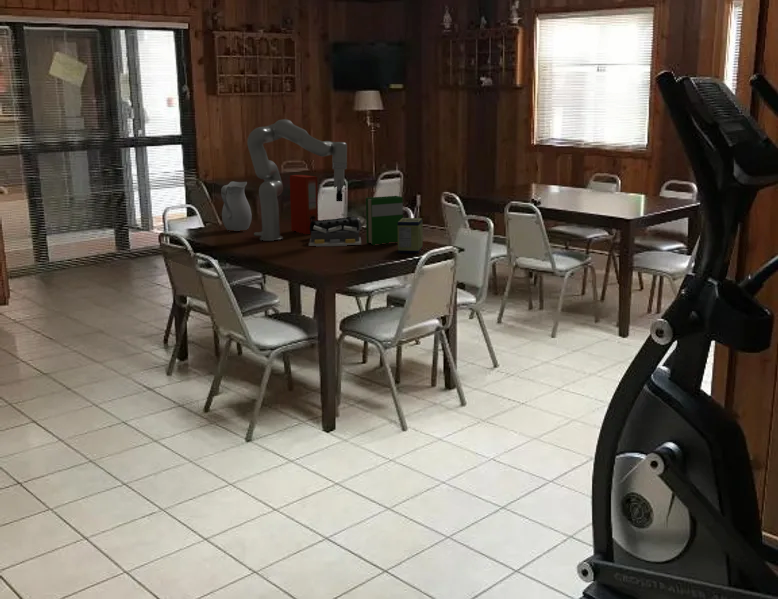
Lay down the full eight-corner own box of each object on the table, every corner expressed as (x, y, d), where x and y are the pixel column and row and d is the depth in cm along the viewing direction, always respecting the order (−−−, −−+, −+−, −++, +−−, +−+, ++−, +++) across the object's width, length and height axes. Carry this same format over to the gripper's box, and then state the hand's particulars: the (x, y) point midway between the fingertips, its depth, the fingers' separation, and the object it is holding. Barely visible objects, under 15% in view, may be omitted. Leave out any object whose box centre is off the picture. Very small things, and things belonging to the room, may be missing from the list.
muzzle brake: (309, 238, 463) (308, 219, 461) (353, 233, 478) (352, 215, 476) (318, 240, 455) (317, 221, 453) (362, 235, 470) (361, 216, 468)
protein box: (422, 248, 427) (422, 217, 423) (418, 254, 412) (418, 222, 408) (402, 248, 429) (402, 217, 425) (397, 253, 414) (397, 222, 410)
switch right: (343, 229, 443) (343, 226, 443) (343, 227, 448) (344, 225, 448) (356, 231, 443) (356, 228, 443) (356, 229, 449) (356, 227, 449)
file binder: (303, 229, 492) (301, 174, 484) (318, 233, 478) (317, 176, 470) (291, 231, 487) (289, 175, 480) (306, 235, 473) (304, 177, 466)
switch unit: (308, 246, 436) (308, 234, 435) (310, 240, 455) (310, 228, 454) (361, 245, 437) (360, 233, 436) (360, 239, 456) (360, 227, 455)
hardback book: (372, 245, 436) (371, 199, 431) (366, 243, 443) (365, 197, 437) (403, 242, 444) (402, 197, 438) (396, 240, 450) (396, 195, 445)
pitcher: (232, 228, 502) (229, 180, 496) (257, 229, 497) (255, 181, 490) (211, 234, 481) (207, 184, 474) (237, 235, 475) (234, 185, 468)
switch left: (313, 228, 442) (313, 226, 442) (313, 227, 448) (314, 224, 447) (325, 233, 443) (326, 230, 443) (325, 231, 448) (326, 229, 448)
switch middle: (328, 232, 443) (328, 229, 443) (329, 230, 448) (328, 228, 448) (341, 229, 443) (340, 226, 442) (341, 227, 448) (340, 224, 448)
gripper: (332, 164, 449) (332, 199, 454) (331, 167, 435) (331, 202, 439) (347, 164, 450) (346, 199, 454) (346, 167, 435) (346, 203, 440)
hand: (339, 201), depth 447 cm, fingers closed
